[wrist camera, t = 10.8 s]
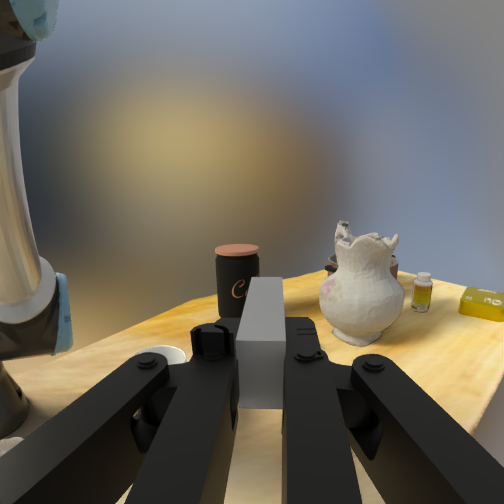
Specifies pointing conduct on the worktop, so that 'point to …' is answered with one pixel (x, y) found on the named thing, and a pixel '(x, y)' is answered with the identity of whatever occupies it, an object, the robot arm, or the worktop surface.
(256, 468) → the worktop surface
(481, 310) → the element tile
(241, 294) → the coffee jar
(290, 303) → the worktop surface
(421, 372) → the worktop surface
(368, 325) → the ceramic pitcher
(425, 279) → the supplement bottle
